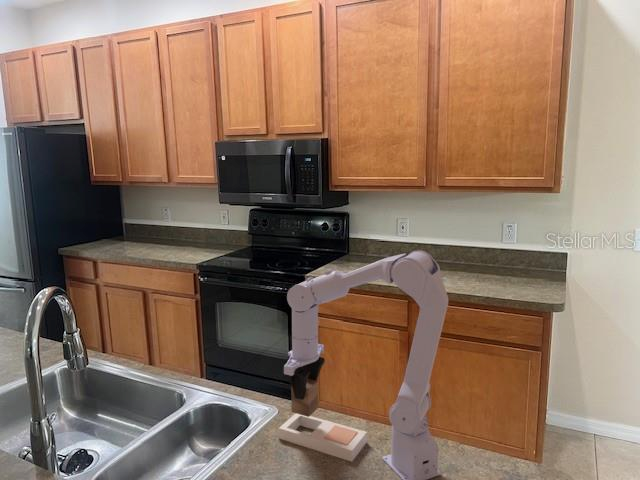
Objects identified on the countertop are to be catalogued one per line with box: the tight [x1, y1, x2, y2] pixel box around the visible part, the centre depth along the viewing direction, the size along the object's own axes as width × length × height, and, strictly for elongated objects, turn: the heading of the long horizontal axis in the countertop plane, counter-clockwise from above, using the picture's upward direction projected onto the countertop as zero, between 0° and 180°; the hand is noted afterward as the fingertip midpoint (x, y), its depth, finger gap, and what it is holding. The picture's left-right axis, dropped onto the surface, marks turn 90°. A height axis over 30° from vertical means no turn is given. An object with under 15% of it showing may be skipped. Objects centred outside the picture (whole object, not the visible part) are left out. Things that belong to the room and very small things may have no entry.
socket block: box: [278, 413, 368, 463], centre depth 105 cm, size 18×8×3 cm, turn 62°
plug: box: [290, 379, 319, 417], centre depth 106 cm, size 4×4×6 cm
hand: (305, 393), depth 106 cm, fingers closed on plug, 4 cm apart
